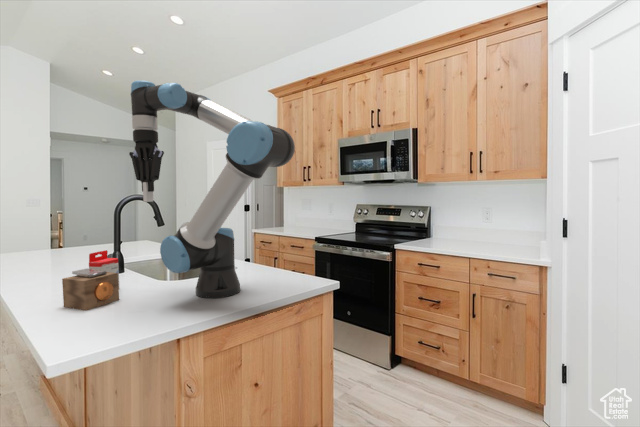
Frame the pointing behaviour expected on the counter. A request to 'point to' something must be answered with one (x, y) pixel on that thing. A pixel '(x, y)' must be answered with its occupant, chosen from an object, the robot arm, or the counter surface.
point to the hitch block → (87, 291)
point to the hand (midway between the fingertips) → (148, 201)
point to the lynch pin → (103, 291)
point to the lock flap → (89, 273)
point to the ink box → (103, 263)
